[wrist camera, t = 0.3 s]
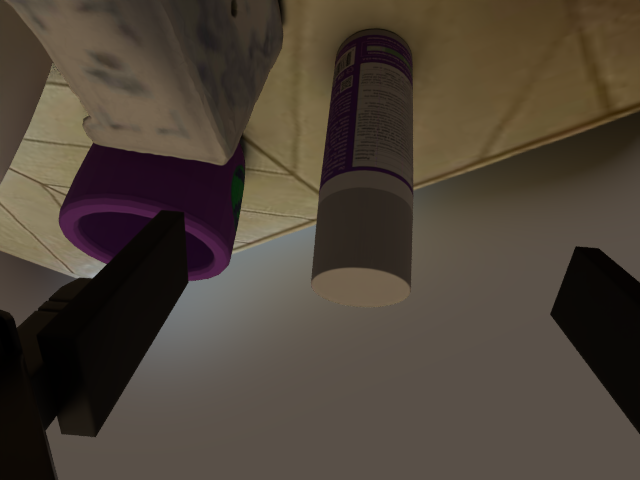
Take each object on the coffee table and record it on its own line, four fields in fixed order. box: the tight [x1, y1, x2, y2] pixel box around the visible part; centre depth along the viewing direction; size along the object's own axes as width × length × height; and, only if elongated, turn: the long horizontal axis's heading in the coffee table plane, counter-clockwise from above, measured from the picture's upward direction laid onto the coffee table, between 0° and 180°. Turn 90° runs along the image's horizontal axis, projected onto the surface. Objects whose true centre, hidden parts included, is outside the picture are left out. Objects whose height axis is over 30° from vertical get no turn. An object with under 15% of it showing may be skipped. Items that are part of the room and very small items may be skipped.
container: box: [311, 29, 413, 307], centre depth 23 cm, size 5×5×15 cm
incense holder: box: [5, 0, 283, 165], centre depth 19 cm, size 10×8×10 cm
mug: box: [59, 143, 245, 281], centre depth 35 cm, size 17×11×10 cm, turn 171°
